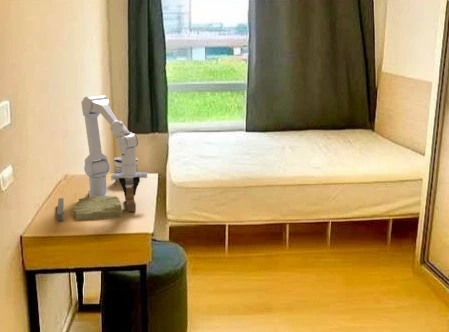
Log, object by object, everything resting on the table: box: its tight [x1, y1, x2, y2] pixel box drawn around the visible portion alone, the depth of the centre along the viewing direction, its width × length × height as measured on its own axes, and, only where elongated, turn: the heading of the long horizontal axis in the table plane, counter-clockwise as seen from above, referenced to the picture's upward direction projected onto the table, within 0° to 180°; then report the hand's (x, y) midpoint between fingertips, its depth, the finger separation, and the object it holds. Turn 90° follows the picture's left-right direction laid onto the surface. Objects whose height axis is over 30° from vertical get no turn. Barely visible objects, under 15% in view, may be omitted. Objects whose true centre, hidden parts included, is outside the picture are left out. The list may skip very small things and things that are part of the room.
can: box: [113, 156, 139, 186], centre depth 266 cm, size 11×11×12 cm
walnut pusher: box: [124, 185, 137, 212], centre depth 231 cm, size 16×3×8 cm, turn 14°
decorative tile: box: [73, 195, 123, 221], centre depth 227 cm, size 19×20×4 cm
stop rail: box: [56, 197, 65, 222], centre depth 223 cm, size 20×2×3 cm, turn 14°
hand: (129, 195), depth 231 cm, fingers closed on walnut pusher, 3 cm apart
